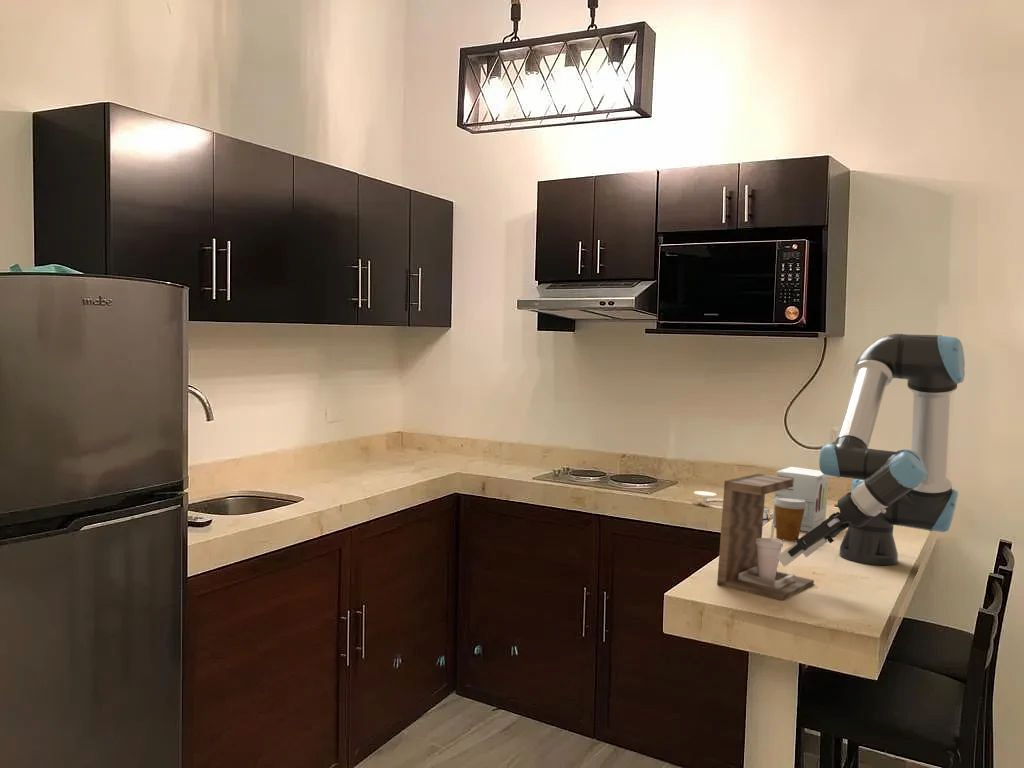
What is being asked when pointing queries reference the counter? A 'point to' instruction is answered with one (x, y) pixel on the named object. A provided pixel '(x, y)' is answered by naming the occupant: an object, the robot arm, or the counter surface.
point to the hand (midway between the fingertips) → (792, 557)
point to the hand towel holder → (705, 500)
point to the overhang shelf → (750, 538)
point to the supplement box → (806, 494)
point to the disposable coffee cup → (788, 517)
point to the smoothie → (768, 555)
